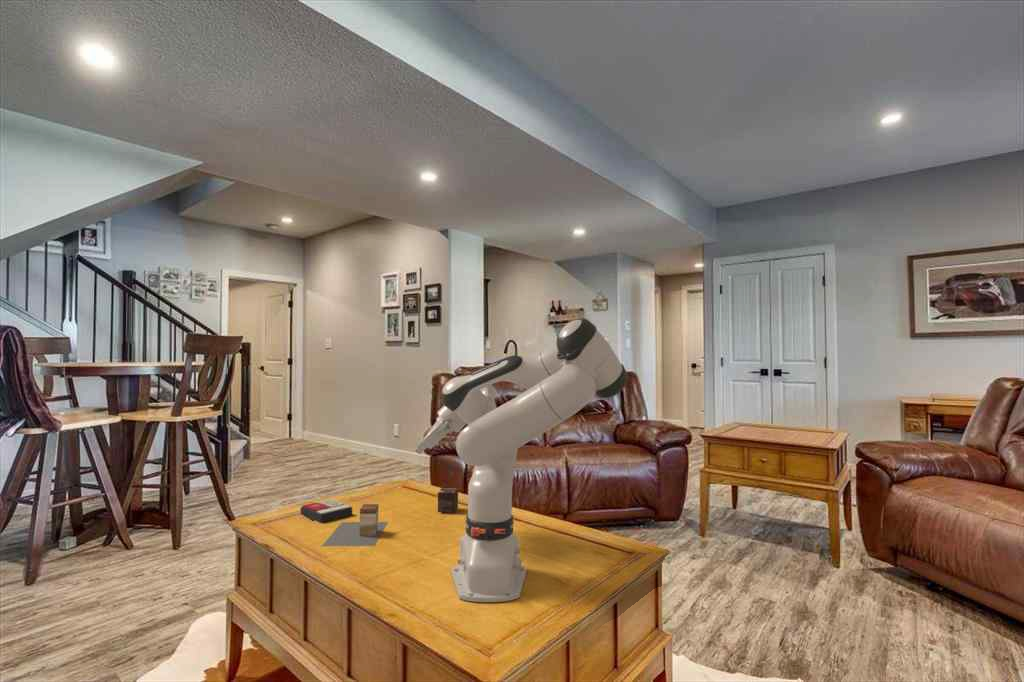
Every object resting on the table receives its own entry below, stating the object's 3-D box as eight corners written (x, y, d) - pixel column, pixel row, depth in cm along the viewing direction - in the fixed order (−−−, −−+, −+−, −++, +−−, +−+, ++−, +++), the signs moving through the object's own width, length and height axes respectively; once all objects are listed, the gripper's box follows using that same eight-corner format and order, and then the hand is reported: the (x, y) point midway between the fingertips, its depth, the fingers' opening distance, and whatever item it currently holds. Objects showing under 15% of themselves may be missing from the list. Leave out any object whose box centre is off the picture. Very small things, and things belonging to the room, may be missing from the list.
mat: (374, 547, 143) (374, 545, 143) (321, 548, 142) (321, 545, 142) (388, 523, 163) (388, 521, 163) (341, 524, 162) (341, 522, 162)
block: (374, 535, 151) (375, 508, 151) (359, 535, 150) (360, 508, 151) (378, 530, 155) (378, 504, 155) (363, 530, 155) (363, 504, 155)
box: (458, 508, 180) (458, 488, 180) (454, 514, 174) (455, 492, 174) (441, 508, 180) (441, 487, 180) (437, 513, 174) (437, 492, 174)
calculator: (330, 498, 179) (352, 504, 169) (330, 510, 179) (352, 518, 169) (300, 504, 171) (321, 512, 161) (300, 517, 171) (321, 526, 161)
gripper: (456, 431, 145) (421, 465, 144) (460, 421, 165) (429, 451, 164) (441, 415, 144) (405, 449, 144) (446, 407, 165) (416, 437, 164)
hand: (418, 450), depth 154 cm, fingers open, 4 cm apart
